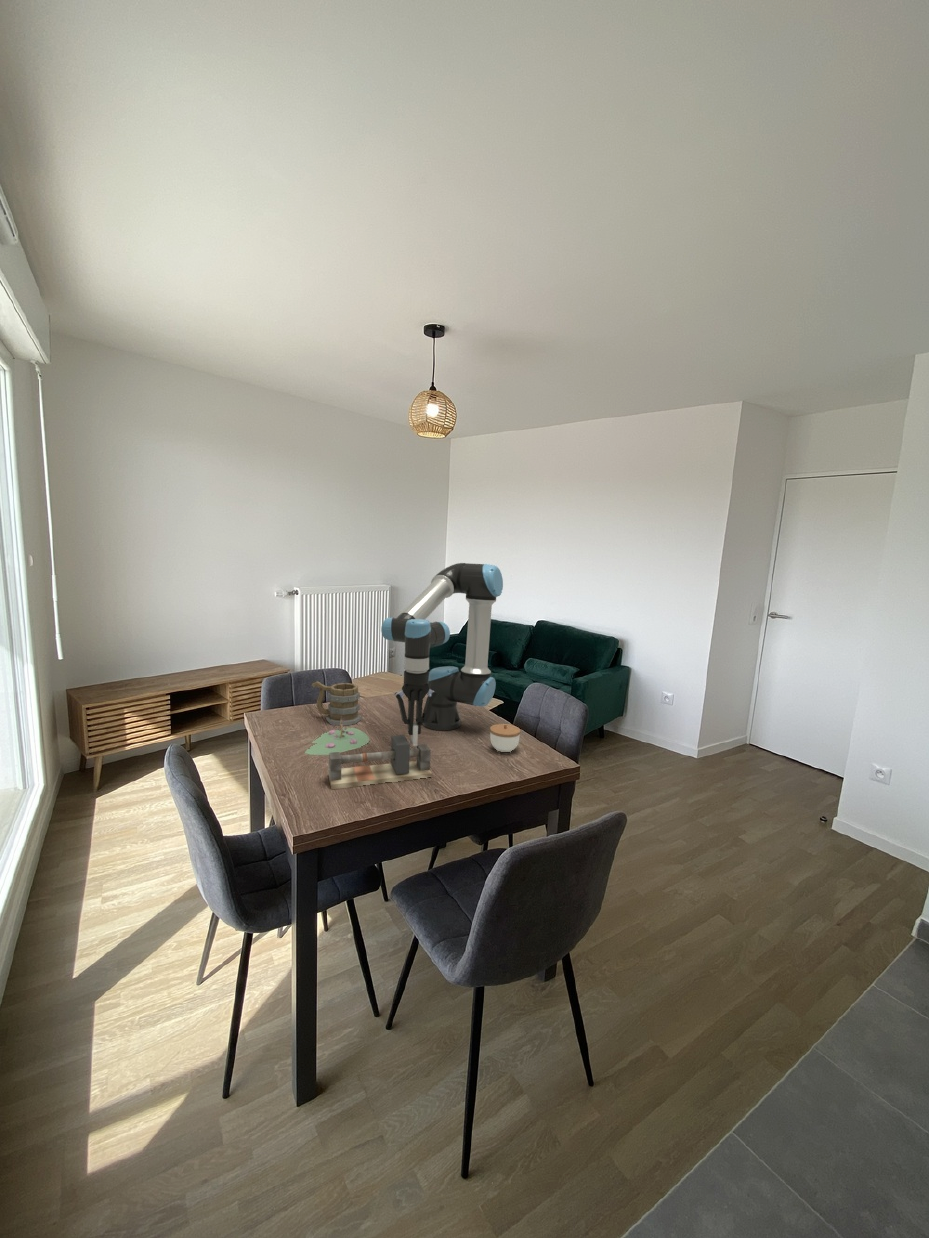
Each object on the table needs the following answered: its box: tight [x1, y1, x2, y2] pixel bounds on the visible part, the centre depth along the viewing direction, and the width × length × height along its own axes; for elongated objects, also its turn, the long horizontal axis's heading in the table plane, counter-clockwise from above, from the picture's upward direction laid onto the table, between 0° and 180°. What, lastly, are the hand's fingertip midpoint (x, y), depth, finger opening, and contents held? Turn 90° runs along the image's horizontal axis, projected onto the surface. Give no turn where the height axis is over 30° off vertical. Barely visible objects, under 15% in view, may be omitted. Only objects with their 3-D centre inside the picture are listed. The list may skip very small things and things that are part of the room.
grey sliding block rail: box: [328, 743, 433, 790], centre depth 155 cm, size 30×10×8 cm, turn 110°
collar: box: [390, 734, 411, 774], centre depth 156 cm, size 4×8×9 cm, turn 20°
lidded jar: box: [489, 723, 521, 753], centre depth 179 cm, size 11×11×9 cm
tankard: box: [311, 681, 362, 727], centre depth 203 cm, size 20×13×15 cm, turn 77°
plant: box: [304, 716, 371, 756], centre depth 179 cm, size 25×21×9 cm
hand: (413, 744), depth 157 cm, fingers closed
